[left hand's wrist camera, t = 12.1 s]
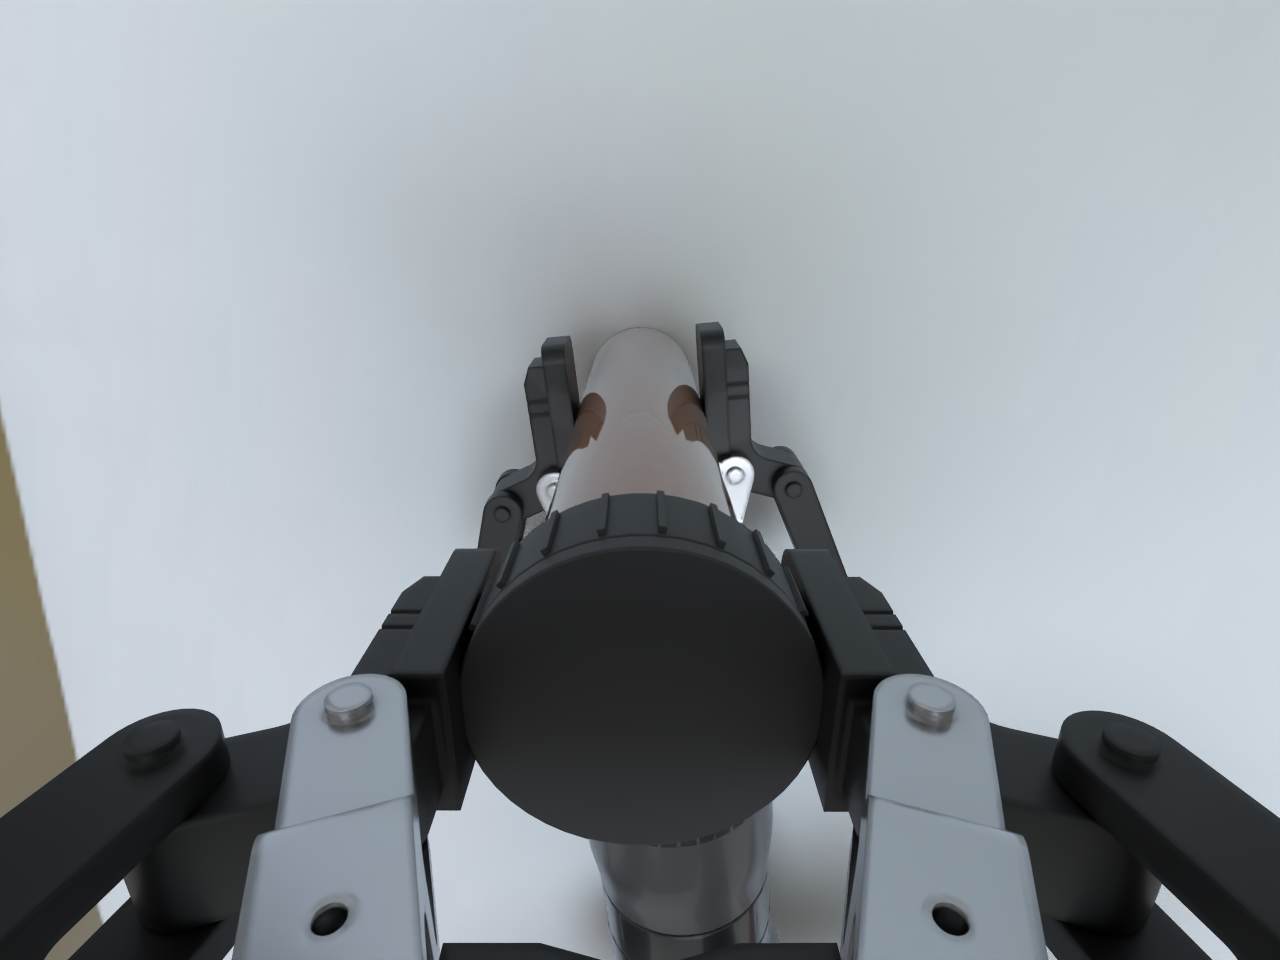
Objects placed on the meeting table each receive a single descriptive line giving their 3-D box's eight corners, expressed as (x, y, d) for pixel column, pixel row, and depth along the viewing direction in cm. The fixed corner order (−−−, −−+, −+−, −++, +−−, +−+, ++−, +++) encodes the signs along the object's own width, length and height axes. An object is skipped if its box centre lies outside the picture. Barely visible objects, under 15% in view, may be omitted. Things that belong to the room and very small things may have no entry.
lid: (502, 765, 12) (480, 855, 10) (459, 496, 10) (423, 552, 8) (796, 754, 12) (821, 842, 10) (808, 480, 10) (841, 534, 8)
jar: (595, 427, 29) (517, 802, 11) (587, 329, 27) (482, 571, 9) (691, 422, 28) (779, 792, 10) (689, 324, 27) (786, 559, 9)
